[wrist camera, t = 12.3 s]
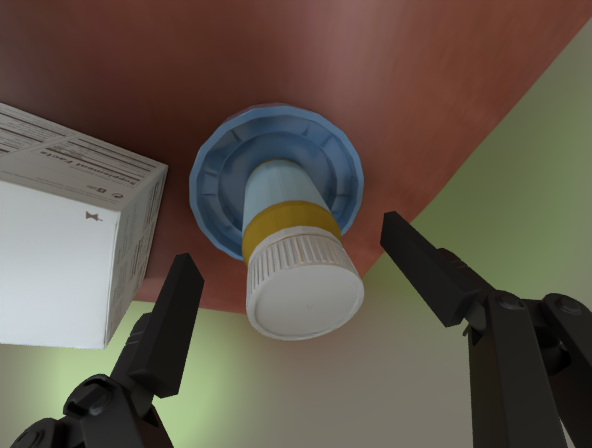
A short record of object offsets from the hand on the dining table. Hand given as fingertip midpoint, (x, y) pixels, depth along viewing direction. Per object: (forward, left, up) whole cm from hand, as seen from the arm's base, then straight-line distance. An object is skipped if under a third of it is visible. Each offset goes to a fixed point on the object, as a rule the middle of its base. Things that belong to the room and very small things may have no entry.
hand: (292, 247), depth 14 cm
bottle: (0, 0, -11) cm, 11 cm away
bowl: (0, 0, -11) cm, 11 cm away
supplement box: (-6, -19, -11) cm, 23 cm away
